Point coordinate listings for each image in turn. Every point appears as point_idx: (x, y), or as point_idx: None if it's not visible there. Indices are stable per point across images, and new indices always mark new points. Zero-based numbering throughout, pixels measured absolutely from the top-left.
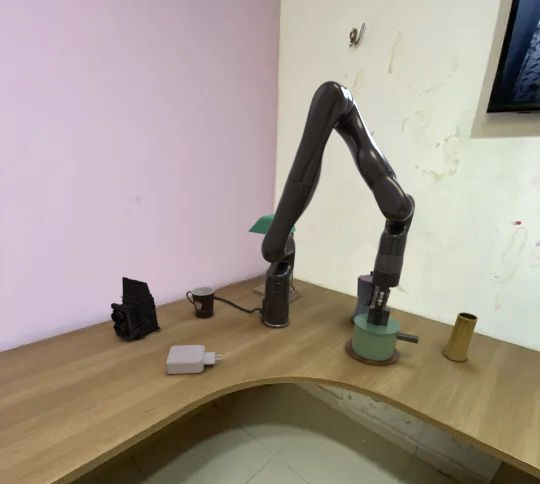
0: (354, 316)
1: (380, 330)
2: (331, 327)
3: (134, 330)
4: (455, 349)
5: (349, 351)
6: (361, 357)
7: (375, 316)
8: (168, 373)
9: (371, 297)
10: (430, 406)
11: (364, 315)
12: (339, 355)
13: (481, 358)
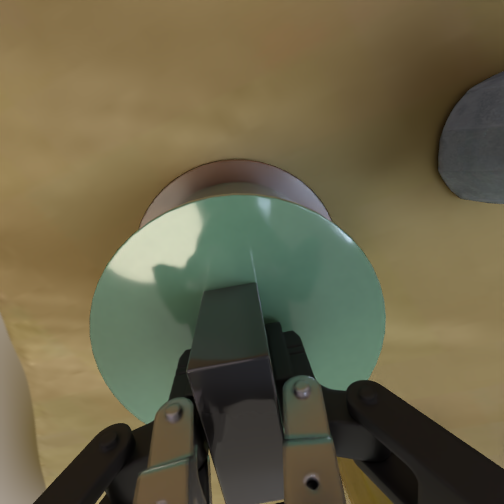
0: (493, 88)
1: (150, 386)
2: (348, 3)
3: None
4: (351, 493)
5: (161, 195)
6: None
7: (170, 392)
8: None
9: None
10: (76, 456)
11: (303, 240)
12: (116, 166)
13: None
